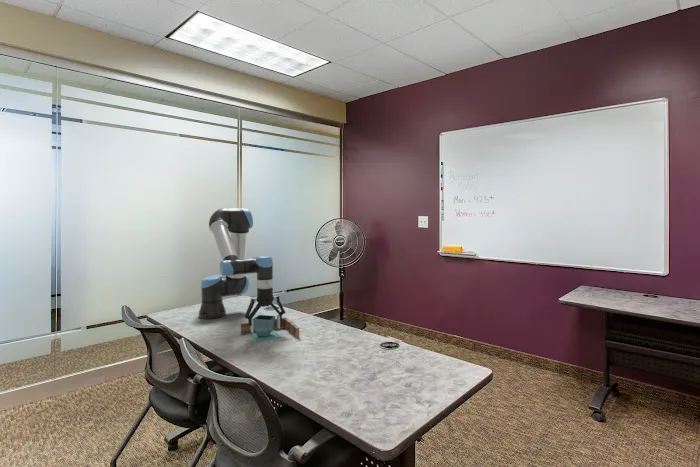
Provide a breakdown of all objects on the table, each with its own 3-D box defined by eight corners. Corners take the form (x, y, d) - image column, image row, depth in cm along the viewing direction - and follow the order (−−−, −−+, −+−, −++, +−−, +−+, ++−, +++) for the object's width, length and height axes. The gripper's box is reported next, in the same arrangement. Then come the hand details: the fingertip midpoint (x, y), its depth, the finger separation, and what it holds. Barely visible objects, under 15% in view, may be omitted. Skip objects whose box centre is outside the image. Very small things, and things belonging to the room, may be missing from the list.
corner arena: (240, 333, 186) (240, 323, 186) (286, 326, 197) (286, 317, 197) (250, 346, 168) (249, 335, 168) (299, 337, 180) (299, 327, 180)
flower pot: (258, 331, 186) (258, 314, 186) (275, 333, 185) (275, 315, 185) (251, 337, 177) (252, 318, 177) (269, 338, 176) (270, 320, 176)
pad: (250, 334, 184) (250, 333, 184) (273, 330, 190) (273, 329, 190) (256, 341, 174) (256, 341, 174) (281, 337, 180) (281, 337, 180)
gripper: (241, 291, 171) (241, 336, 173) (291, 286, 183) (291, 328, 184) (237, 288, 178) (238, 331, 179) (286, 283, 190) (286, 324, 191)
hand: (265, 330), depth 182 cm, fingers open, 13 cm apart
